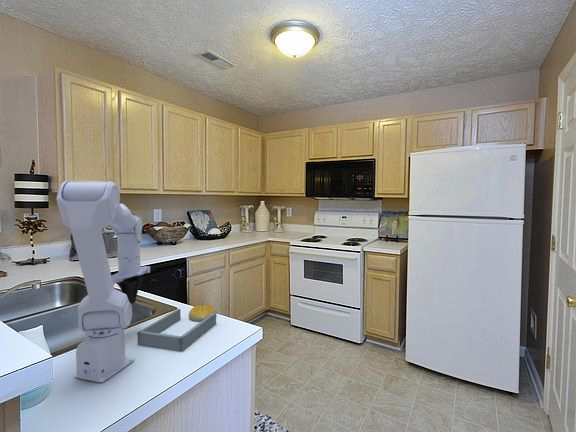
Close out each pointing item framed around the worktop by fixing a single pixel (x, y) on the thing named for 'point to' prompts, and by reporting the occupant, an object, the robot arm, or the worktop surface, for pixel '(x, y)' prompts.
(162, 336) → the open-side box
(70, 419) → the worktop surface
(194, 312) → the bread roll
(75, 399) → the worktop surface
